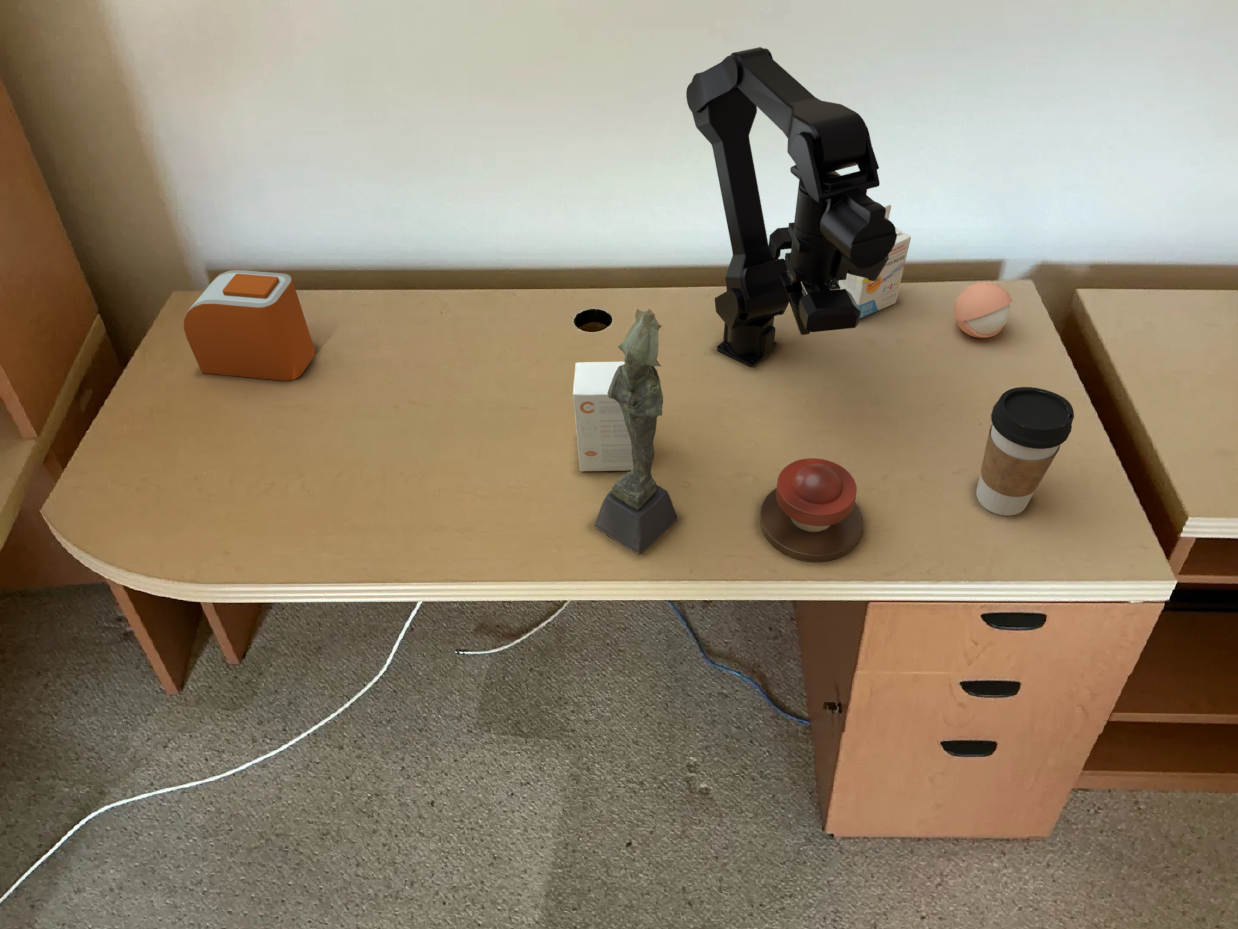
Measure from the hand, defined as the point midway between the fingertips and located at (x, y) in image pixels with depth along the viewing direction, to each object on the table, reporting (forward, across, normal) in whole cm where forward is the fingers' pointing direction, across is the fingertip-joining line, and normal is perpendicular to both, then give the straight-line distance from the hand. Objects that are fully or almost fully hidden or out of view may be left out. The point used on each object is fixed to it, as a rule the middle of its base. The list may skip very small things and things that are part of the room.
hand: (804, 332), depth 119 cm
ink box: (+12, +20, -17) cm, 29 cm away
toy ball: (+12, +11, -30) cm, 35 cm away
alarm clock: (+12, +22, +74) cm, 78 cm away
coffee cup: (+12, -21, -20) cm, 31 cm away
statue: (+12, -18, +24) cm, 33 cm away
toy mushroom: (+12, -21, +4) cm, 25 cm away
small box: (+12, -6, +26) cm, 29 cm away
